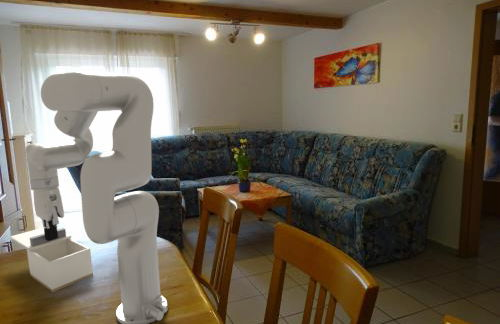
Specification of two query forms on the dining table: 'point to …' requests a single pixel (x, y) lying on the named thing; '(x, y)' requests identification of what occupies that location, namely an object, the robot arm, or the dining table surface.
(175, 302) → the dining table surface
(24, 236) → the carton lid
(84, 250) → the carton
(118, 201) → the robot arm
